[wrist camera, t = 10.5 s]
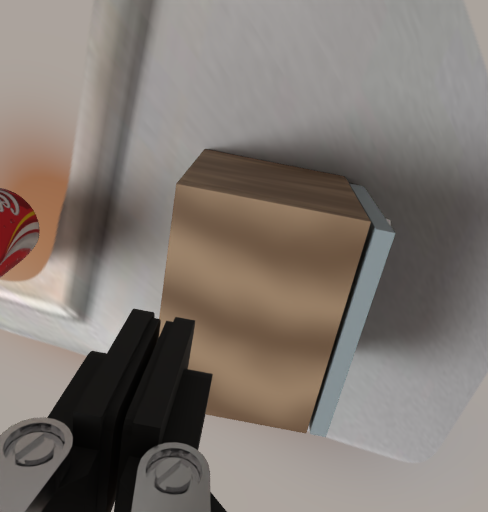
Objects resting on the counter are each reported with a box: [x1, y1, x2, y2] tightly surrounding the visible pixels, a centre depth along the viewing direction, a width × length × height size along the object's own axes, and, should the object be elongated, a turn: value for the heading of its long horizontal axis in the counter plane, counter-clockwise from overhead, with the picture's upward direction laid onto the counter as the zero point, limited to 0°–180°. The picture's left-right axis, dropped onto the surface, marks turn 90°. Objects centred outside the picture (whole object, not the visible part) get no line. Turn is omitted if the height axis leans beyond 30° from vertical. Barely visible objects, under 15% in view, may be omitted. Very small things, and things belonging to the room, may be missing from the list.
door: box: [309, 183, 395, 437], centre depth 37 cm, size 17×2×12 cm, turn 169°
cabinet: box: [159, 149, 371, 433], centre depth 37 cm, size 17×12×12 cm
